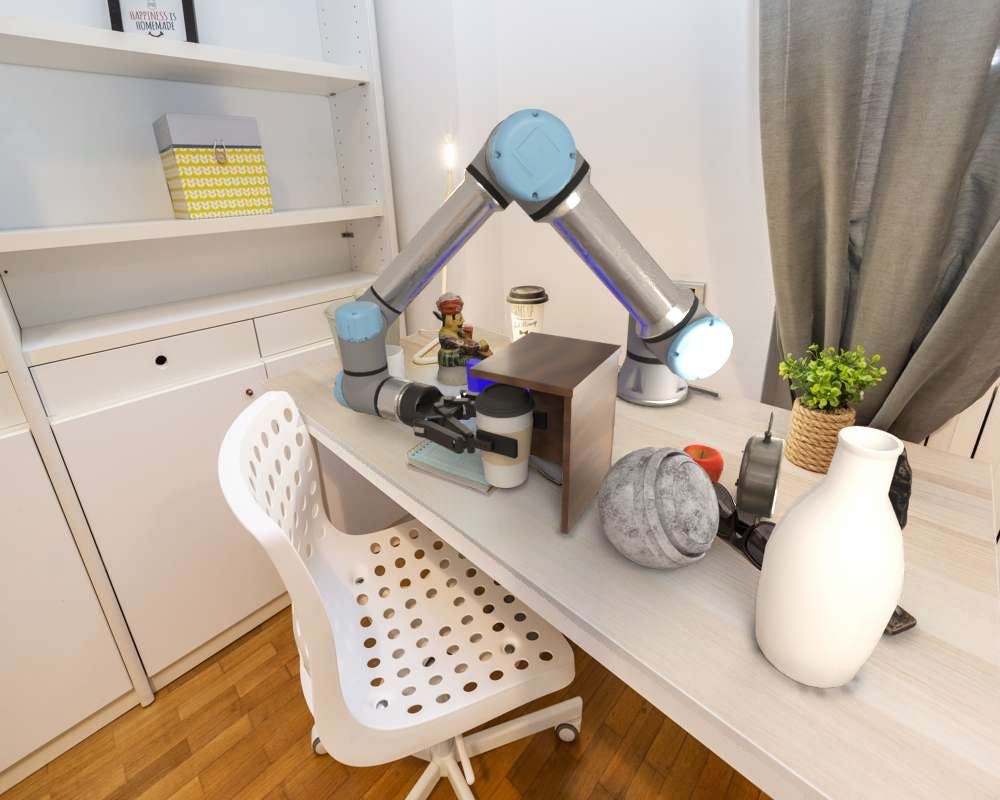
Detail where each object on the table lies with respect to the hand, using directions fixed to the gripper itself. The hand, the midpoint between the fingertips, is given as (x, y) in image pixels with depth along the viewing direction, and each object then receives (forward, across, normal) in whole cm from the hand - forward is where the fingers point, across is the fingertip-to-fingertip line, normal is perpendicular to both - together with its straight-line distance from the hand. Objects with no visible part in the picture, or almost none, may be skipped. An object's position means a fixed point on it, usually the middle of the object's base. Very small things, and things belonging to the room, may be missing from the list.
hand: (531, 434), depth 75 cm
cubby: (+1, -3, -10) cm, 11 cm away
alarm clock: (+30, -11, -11) cm, 33 cm away
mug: (-43, -13, -11) cm, 46 cm away
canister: (-59, -26, -11) cm, 65 cm away
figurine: (-37, -34, -11) cm, 51 cm away
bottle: (+38, +11, -11) cm, 41 cm away
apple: (+22, -12, -11) cm, 27 cm away
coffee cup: (-5, 0, -9) cm, 10 cm away
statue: (+44, +2, -11) cm, 45 cm away
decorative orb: (+20, +4, -11) cm, 23 cm away
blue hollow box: (-16, -29, -11) cm, 35 cm away
